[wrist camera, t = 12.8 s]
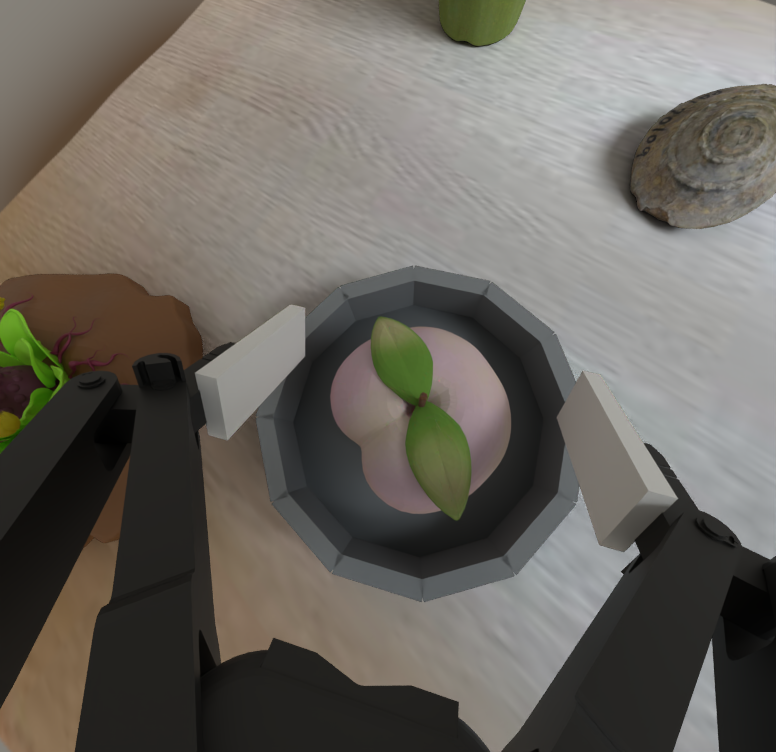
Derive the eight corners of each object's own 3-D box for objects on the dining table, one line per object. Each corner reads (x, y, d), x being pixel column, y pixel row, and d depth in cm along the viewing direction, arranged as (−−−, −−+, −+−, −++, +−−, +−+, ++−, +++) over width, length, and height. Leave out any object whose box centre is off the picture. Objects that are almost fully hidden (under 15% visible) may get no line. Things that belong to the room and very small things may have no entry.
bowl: (411, 257, 26) (412, 217, 21) (604, 419, 22) (654, 412, 18) (236, 423, 23) (197, 417, 19) (420, 632, 20) (425, 683, 16)
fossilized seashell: (646, 94, 26) (767, 1, 19) (738, 151, 28) (873, 86, 22) (612, 225, 26) (721, 178, 19) (707, 269, 28) (833, 242, 21)
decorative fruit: (509, 453, 21) (603, 449, 11) (398, 521, 20) (398, 577, 11) (432, 335, 23) (457, 246, 14) (330, 391, 22) (277, 340, 13)
